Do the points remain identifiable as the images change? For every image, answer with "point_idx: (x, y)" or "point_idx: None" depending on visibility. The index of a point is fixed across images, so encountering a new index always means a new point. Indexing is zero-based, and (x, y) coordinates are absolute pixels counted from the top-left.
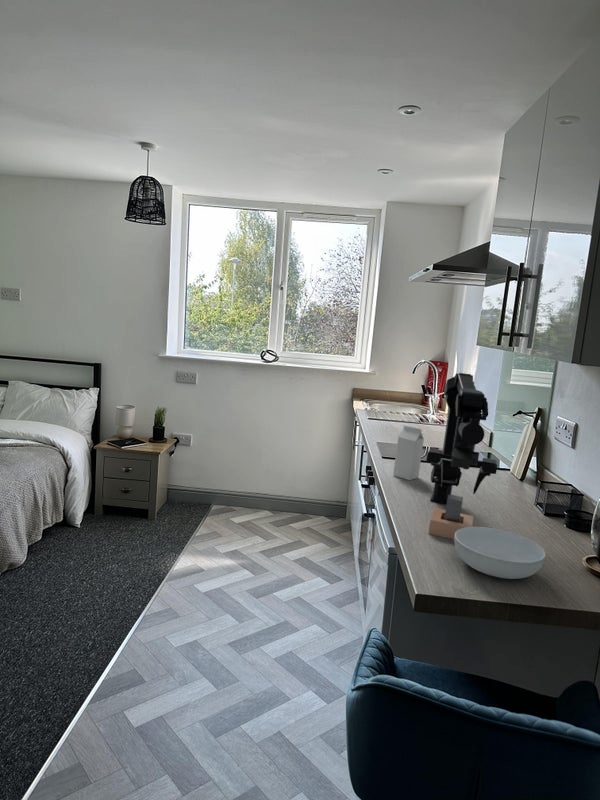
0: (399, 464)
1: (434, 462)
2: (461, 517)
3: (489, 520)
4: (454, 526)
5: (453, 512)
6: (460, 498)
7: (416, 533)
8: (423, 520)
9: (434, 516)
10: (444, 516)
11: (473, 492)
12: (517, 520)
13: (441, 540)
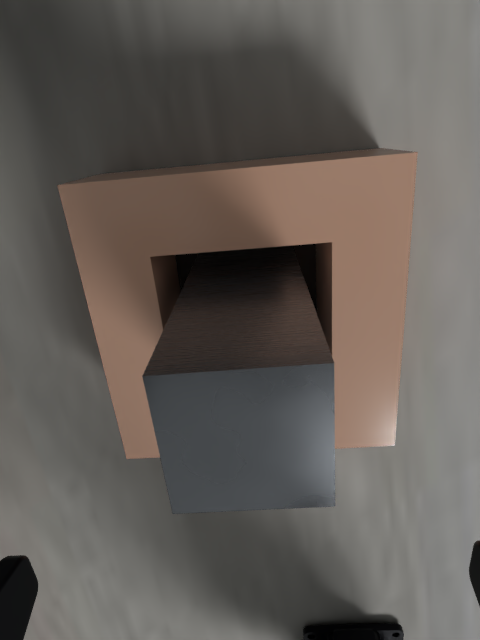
0: None
1: None
2: None
3: (103, 560)
4: (201, 172)
5: (236, 303)
6: (186, 455)
7: (466, 85)
8: (423, 365)
9: (385, 267)
10: None
11: (11, 570)
12: None
13: (275, 74)
